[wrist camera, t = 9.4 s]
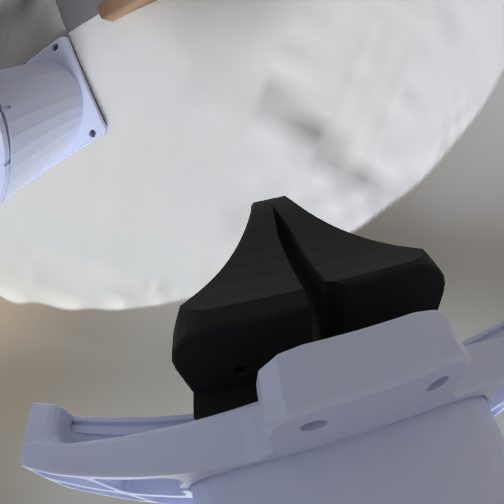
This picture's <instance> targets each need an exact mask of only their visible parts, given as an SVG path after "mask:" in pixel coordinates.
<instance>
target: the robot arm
mask: <svg viewBox="0 0 504 504" xmlns="http://www.w3.org/2000/svg"><path fill="white" fill-rule="evenodd" d="M56 44H57V45H58V49H57V50H56V51H55V50H54V47H55V45H56ZM91 130H94V131H95V132H96V136H93V135H92V134H91ZM106 132H107V126H106V124H105V122H104V120H103V118H102V115H101V113H100V111H99V109H98V107H97V104H96V102H95V100H94V98H93V96H92V93H91V91H90V89H89V86H88V84H87V82H86V79H85V77H84V75H83V72H82V70H81V68H80V65H79V63H78V60H77V58H76V55H75V53H74V50H73V48H72V45H71V43H70V40H69V38H68V37H66V36H61V37H59V38H57V39H56V40H55V41H53V42H52V43H51V44H49V45H48V46H46V47H45V48H44V49H42V50H41V51H40V52H39V53H37V54H36V55H35V56H33V57H32V58H31V59H30V60H29V61H27V62H26V63H25V64H24V65H18V66H12V67H7V68H2V69H0V206H1V205H2V204H3V203H4V202H5V201H6V200H7V199H8V198H10V197H11V196H12V195H13V194H14V193H15V192H16V191H17V190H19V189H21V188H22V187H23V186H25V185H26V184H27V183H29V182H30V181H32V180H33V179H34V178H36V177H37V176H39V175H40V174H42V173H43V172H45V171H46V170H48V169H49V168H51V167H52V166H54V165H55V164H57V163H58V162H60V161H61V160H63V159H65V158H66V157H68V156H69V155H71V154H73V153H74V152H76V151H78V150H79V149H81V148H83V147H84V146H86V145H88V144H89V143H91V142H93V141H95V140H97V139H98V138H100V137H102V136H103V135H104V134H105V133H106ZM444 285H445V281H444V275H443V273H442V272H441V270H440V269H439V268H438V266H437V265H436V264H435V263H434V261H433V260H432V259H431V258H430V257H429V255H428V254H427V253H426V252H425V251H424V250H423V249H418V248H410V247H402V246H395V245H391V244H386V243H381V242H377V241H373V240H369V239H366V238H363V237H360V236H357V235H354V234H351V233H348V232H346V231H344V230H341V229H339V228H336V227H334V226H332V225H330V224H328V223H326V222H324V221H322V220H321V219H319V218H317V217H315V216H314V215H312V214H310V213H309V212H307V211H306V210H304V209H303V208H301V207H300V206H298V205H297V204H296V203H294V202H293V201H291V200H290V199H289V198H287V197H286V196H282V197H278V198H273V199H268V200H264V201H259V202H254V203H253V204H252V206H251V213H250V217H249V220H248V223H247V226H246V229H245V231H244V233H243V236H242V238H241V240H240V242H239V244H238V246H237V248H236V249H235V251H234V253H233V254H232V256H231V257H230V259H229V260H228V262H227V263H226V264H225V266H224V267H223V268H222V269H221V271H220V272H219V273H218V274H217V275H216V276H215V277H214V278H213V279H212V280H211V281H210V282H209V283H208V284H207V285H206V286H205V287H204V288H203V289H201V290H200V291H199V292H198V293H196V294H195V295H194V296H193V297H191V298H190V299H189V300H187V301H186V302H185V303H183V304H182V305H181V306H180V308H179V312H178V316H177V320H176V324H175V328H174V334H173V347H172V362H173V364H174V366H175V368H176V370H177V371H178V372H179V374H180V375H181V377H182V378H183V379H184V381H185V382H186V383H187V385H188V386H189V387H190V388H191V390H192V391H193V392H194V414H184V415H172V416H155V417H127V418H126V417H125V418H124V417H122V418H109V417H105V418H104V417H77V416H72V415H71V414H70V413H69V412H68V411H67V410H65V409H64V408H62V407H61V406H58V405H55V404H45V403H33V404H32V407H31V411H30V414H29V419H28V423H27V427H26V432H25V436H24V441H23V446H22V451H21V456H20V462H19V463H20V465H21V466H23V467H25V468H27V469H29V470H30V471H32V472H35V473H36V474H39V475H41V476H43V477H45V478H47V479H49V480H51V481H54V482H56V483H58V484H61V485H63V486H65V487H68V488H72V489H76V490H81V491H85V492H91V493H95V494H100V495H105V496H111V497H116V498H123V499H129V500H136V501H144V502H152V503H163V504H504V439H503V436H502V434H501V432H500V429H499V427H498V425H497V423H496V420H495V418H494V416H496V415H497V414H498V413H500V412H501V411H503V410H504V321H502V322H500V323H498V324H496V325H494V326H492V327H491V328H489V329H487V330H485V331H483V332H481V333H479V334H477V335H475V336H473V337H471V338H468V339H466V340H464V341H461V339H460V337H459V336H458V334H457V333H456V331H455V330H454V328H453V327H452V325H451V323H450V322H449V320H448V318H447V317H446V316H445V315H443V314H442V313H440V312H439V311H438V307H439V304H440V301H441V298H442V295H443V291H444Z"/></svg>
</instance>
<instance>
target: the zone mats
mask: <svg viewBox="0 0 504 504" xmlns="http://www.w3.org/2000/svg"><path fill="white" fill-rule="evenodd" d="M104 1H106V0H56V2H57V5H58V8H59V11H60V13H61V16H62V19H63V22H64V24H65V27H66V30H67V32H70V31H71V30H73V29H74V28H76V27H77V26H79V25H81V24H82V23H84V22H85V21H87V20H89V19H90V18H92V17H94V16H96V15H97V14H99V11H98V9H97V5H99V4H100V3H102V2H104Z"/></svg>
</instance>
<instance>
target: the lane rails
mask: <svg viewBox="0 0 504 504" xmlns="http://www.w3.org/2000/svg"><path fill="white" fill-rule="evenodd" d="M154 1H156V0H106V1H104V2H102V3H100V4H99V5H97V9H98V11H99V14H100V16H101V18H102V19H105V20H108V21H112V22H113V21H114V20H116V19H118V18H120V17H122V16H124V15H126V14H128V13H130V12H132V11H134V10H136V9H138V8H141V7H143V6H145V5H147V4H149V3H152V2H154Z"/></svg>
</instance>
